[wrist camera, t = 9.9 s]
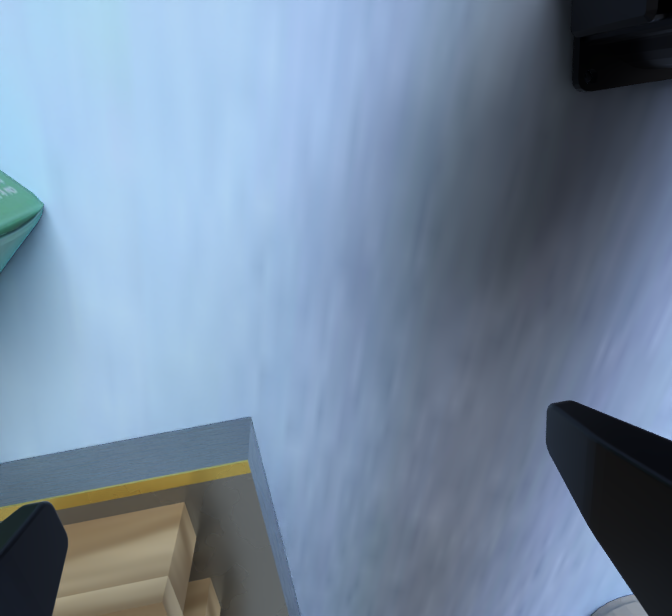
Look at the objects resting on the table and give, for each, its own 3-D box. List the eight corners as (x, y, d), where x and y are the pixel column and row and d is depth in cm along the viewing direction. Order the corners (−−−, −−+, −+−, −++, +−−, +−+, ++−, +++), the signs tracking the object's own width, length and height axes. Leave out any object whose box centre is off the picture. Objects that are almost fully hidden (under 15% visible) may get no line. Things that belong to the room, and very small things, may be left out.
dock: (250, 416, 23) (245, 495, 18) (301, 618, 28) (306, 717, 24) (-38, 470, 22) (-119, 566, 18) (71, 667, 28) (31, 778, 23)
